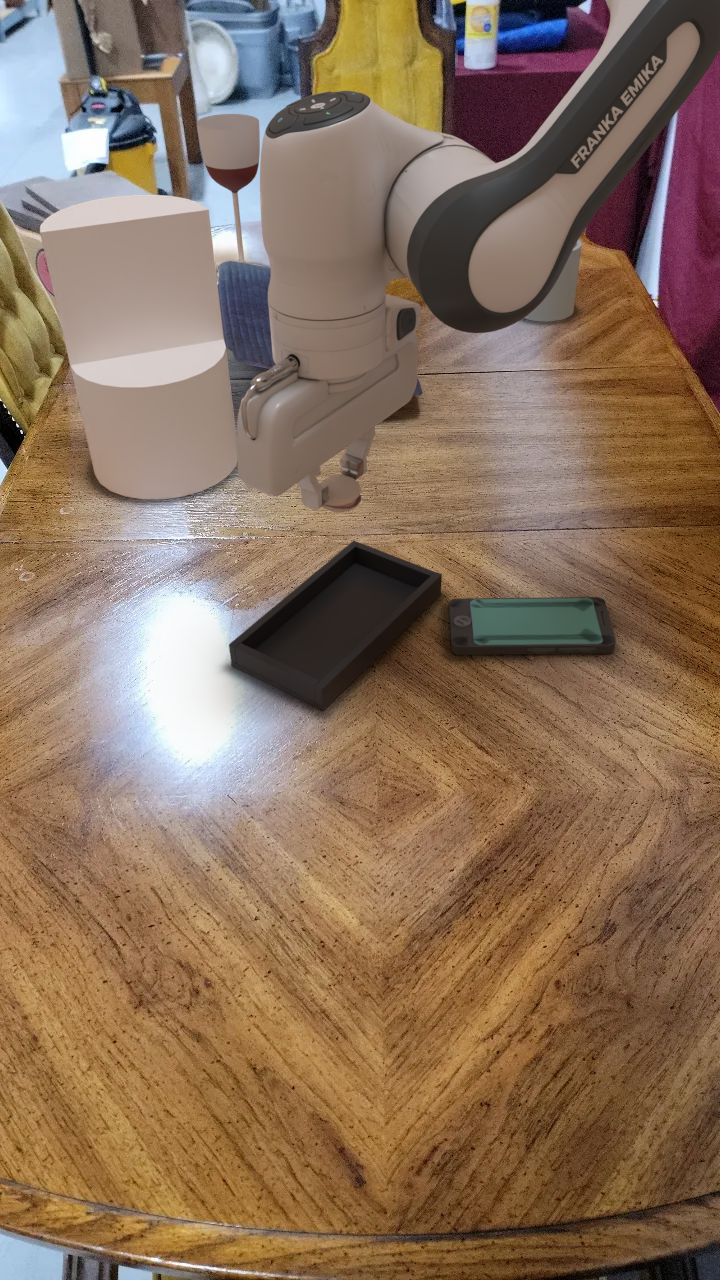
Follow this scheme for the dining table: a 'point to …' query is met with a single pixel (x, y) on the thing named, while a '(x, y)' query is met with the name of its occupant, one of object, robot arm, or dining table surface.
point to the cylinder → (144, 341)
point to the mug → (560, 292)
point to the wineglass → (231, 156)
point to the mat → (249, 313)
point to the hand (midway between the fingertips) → (335, 489)
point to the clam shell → (342, 493)
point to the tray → (335, 623)
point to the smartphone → (530, 626)
